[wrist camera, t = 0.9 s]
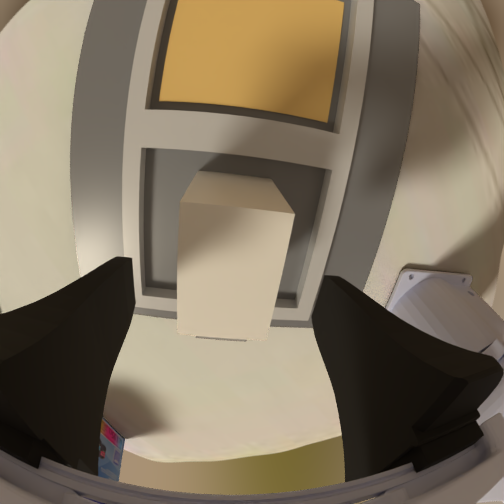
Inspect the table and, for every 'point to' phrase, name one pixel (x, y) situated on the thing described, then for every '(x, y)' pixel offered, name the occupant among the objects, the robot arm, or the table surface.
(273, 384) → the table surface
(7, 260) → the table surface
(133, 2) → the grey flat tray
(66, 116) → the table surface
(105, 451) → the ink cartridge box
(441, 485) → the robot arm
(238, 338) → the plug
